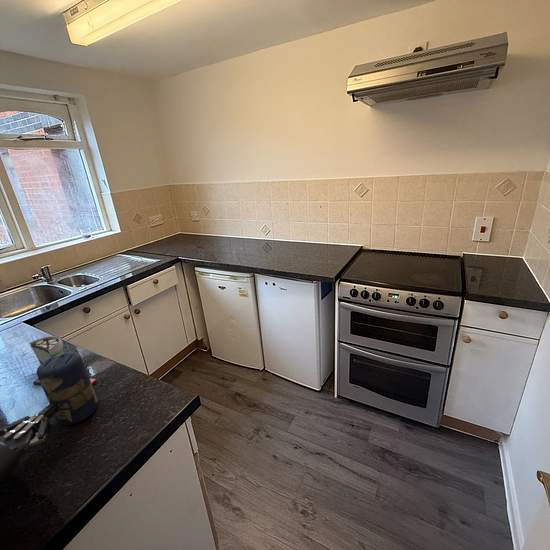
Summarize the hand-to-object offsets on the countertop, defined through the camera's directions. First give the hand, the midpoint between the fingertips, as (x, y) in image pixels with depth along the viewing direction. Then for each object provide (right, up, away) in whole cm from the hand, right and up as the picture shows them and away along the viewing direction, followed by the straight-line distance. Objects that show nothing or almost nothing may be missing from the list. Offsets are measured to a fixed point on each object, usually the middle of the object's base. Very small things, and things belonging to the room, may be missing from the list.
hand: (55, 405), depth 73 cm
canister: (+1, -5, +7) cm, 9 cm away
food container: (-19, +1, +28) cm, 34 cm away
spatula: (-12, -2, +19) cm, 22 cm away
